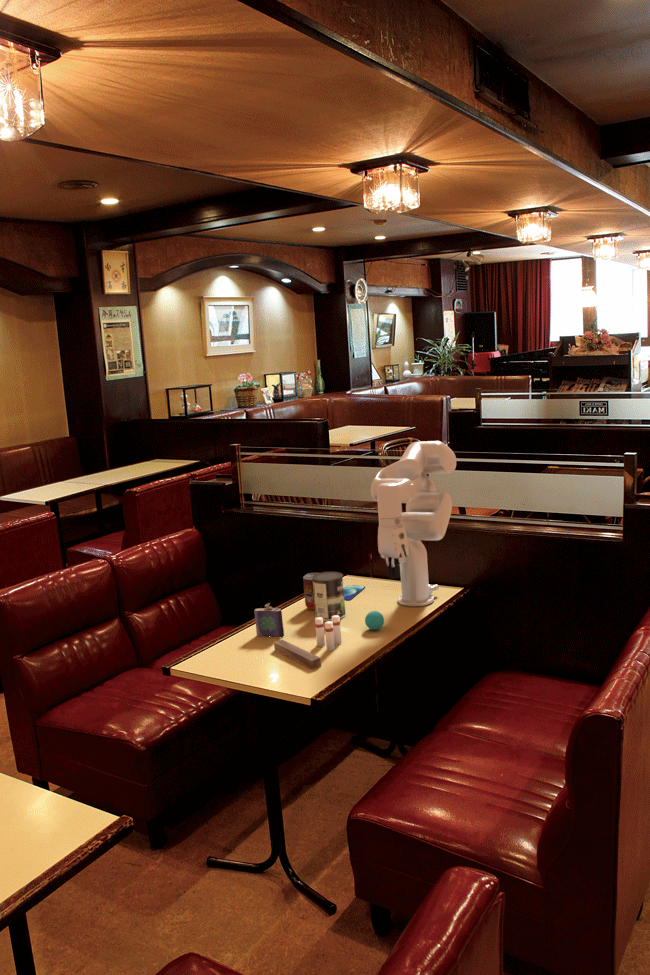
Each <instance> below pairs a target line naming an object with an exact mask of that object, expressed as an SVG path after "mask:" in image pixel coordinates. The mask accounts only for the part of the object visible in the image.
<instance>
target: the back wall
mask: <svg viewBox="0 0 650 975" xmlns="http://www.w3.org/2000/svg"><path fill="white" fill-rule="evenodd" d="M273 645H274V646H273V647H274V651H275V650H276V651H275V652H277V651H278V653H279V652H280V654H281V655H283V654H284V655H283V656H285V655H286V656H285V657H287V658H289V657H290V658H289V659H291V660H294V661H295V662H298V663H299V664H302V665H303V666H305V667H308V668H309V669H311V670H314V669H317V668H320V667H322V659H321V657H320V656H317V655H316V654H314V653H311V652H309V651H307V650H306V649H303V648H301V647H299V646H296V645H295V644H293V643H290V642H288V641H286V640H284V639H280V640H277V641H274V642H273Z"/></svg>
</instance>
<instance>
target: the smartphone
mask: <svg viewBox="0 0 650 975" xmlns="http://www.w3.org/2000/svg"><path fill="white" fill-rule="evenodd" d="M365 589H366V586H365V585H353V584H352V585H350V584H348V585H346V586H345V587H343V590H344V601H352V600H353V599H355V598H356V597H357V596H358V595H359V594H360V593H362V592H363V591H364V590H365Z"/></svg>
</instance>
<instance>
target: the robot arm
mask: <svg viewBox="0 0 650 975" xmlns="http://www.w3.org/2000/svg"><path fill="white" fill-rule="evenodd" d="M456 467H457V457H456V454H455V453H454V450H452V449H451V448H450V446H448V445H447V444H446V443H444V442H442V441H440V440H427V441H425V440H424V441H423V440H422V441H414V442H411V443H410V444H408V446H406V449H405V451H404V453H402V456H401V457H400V459H399V460H398V461H396V462H393V463H391V464H389V465H387V466H385V467H384V468H382V469H381V470H379V471H378V472H377V473H376V474H375V476H374V478H373V480H372V483H371V486H370V495H371V498H372V499H373V500H374V501H376V502H377V512H378V514H377V515H378V527H377V547H378V549H377V550H378V554H380V558H381V559H384V561H385V563H386V566H387V572H388V578H389V579H391V580H395V579H397V578H400V587H401V594H400V595H399V596H398V597H397V602H398V604H400V605H401V606H404V607H423V606H427V605H430V604H433V602H434V601H435V597H434V595H433V592H435V591H438V590H439V589H440V587H439V585H438V584H434V585H430V584H429V583H430V582H429V569H428V568H429V566H428V551H427V549H426V547H425V545H424V544H423V542H422V541H440V540H442V539H443V538H444V537H445V535H446V532H447V528H448V525H449V522H450V518H451V515H452V510H453V501H452V498H451V496H450V494H448V492H445V491H437V486H436V484H435V483H434V481H433V480H432V479H431V478H430V477H429V476H428V475H439V474H440V475H441V474H442V475H444V474H445V475H446V474H447V475H448V474H449V475H450V474H452V473H454V472H455V470H456ZM402 503H405V512H404V511H403V505H402Z"/></svg>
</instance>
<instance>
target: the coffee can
mask: <svg viewBox="0 0 650 975" xmlns="http://www.w3.org/2000/svg"><path fill="white" fill-rule="evenodd" d="M317 573H318V574H316V575H314V576H312V580H313V589H314V600H315V611H314V612H315V618H318V617H321V618H323V622H327V621H331V622H332V616H334V615H338V616H339V617H340V620H342V619H343V617H344V618H345V617H346V616H345V615H346V603H345V600H344V590H343V589H344V580H343V577H344V574H343V573H341V572H337V571H323V572H317ZM341 618H342V619H341Z"/></svg>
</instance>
